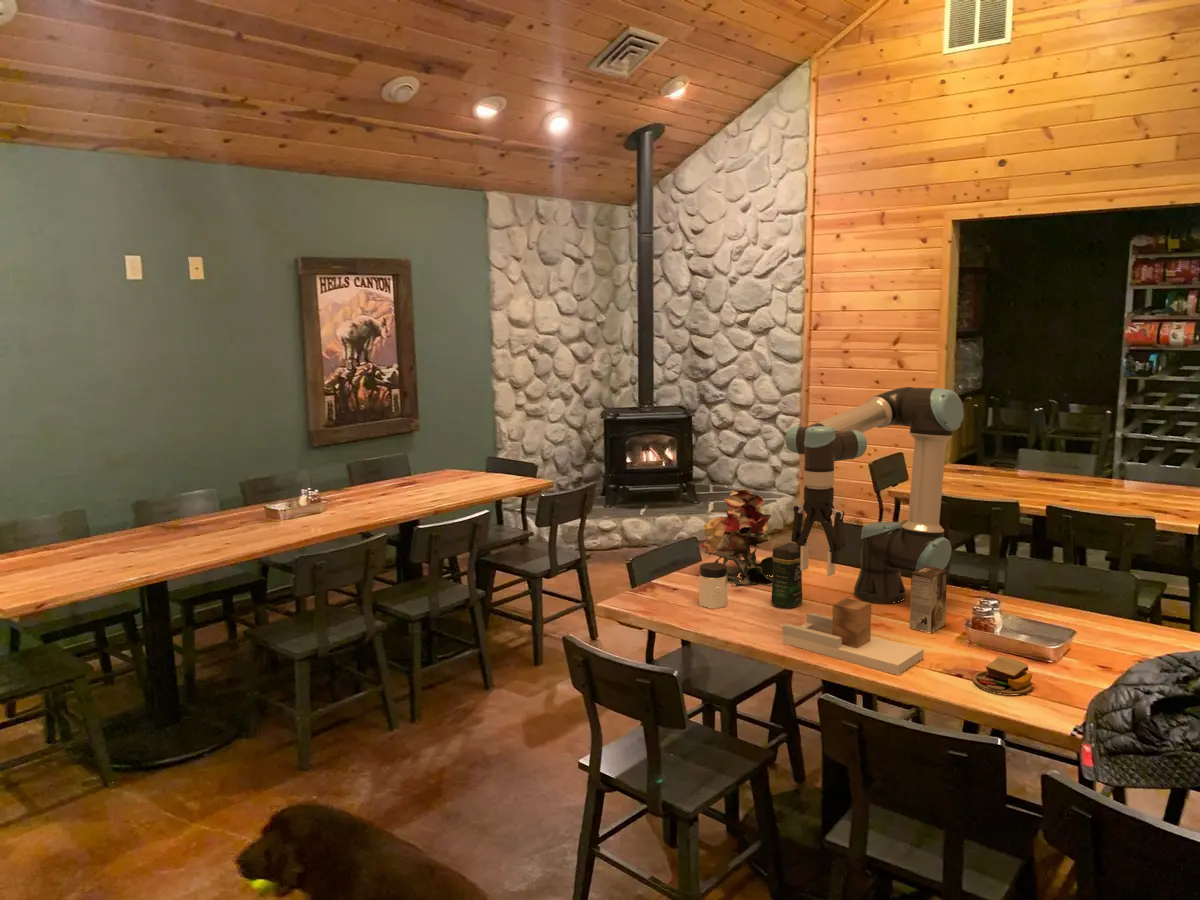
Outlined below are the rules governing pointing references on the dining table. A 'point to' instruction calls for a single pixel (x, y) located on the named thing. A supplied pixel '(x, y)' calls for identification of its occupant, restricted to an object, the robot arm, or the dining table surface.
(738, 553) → the rose bouquet
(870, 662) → the slotted wooden base
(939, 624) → the coffee box
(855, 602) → the walnut block
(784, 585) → the coffee jar
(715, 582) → the jar
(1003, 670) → the toy sandwich meal
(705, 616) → the dining table surface
